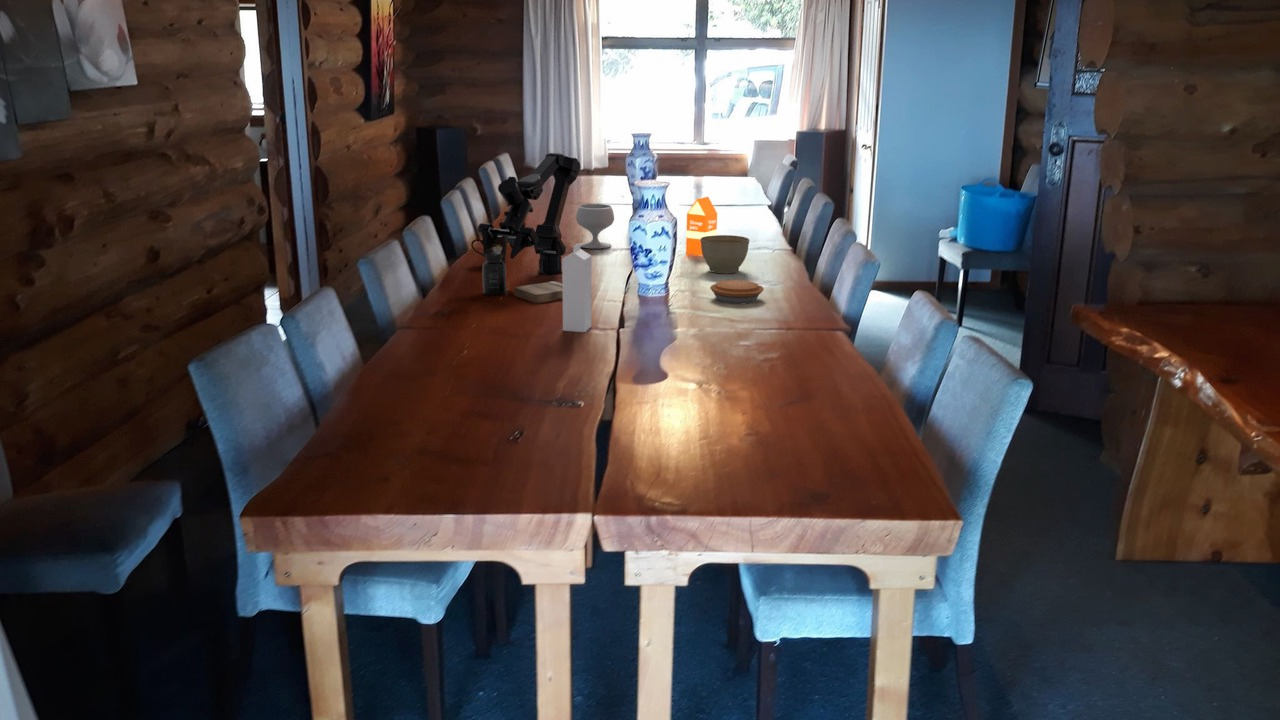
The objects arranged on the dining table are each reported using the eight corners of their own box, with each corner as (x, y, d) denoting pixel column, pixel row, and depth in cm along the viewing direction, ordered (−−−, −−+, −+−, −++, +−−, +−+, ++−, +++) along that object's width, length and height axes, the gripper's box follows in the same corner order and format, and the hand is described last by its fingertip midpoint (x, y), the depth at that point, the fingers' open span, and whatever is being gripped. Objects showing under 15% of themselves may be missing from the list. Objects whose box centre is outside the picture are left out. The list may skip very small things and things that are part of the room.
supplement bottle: (510, 292, 305) (509, 252, 302) (498, 296, 299) (497, 256, 296) (491, 289, 308) (490, 250, 304) (478, 294, 302) (477, 254, 298)
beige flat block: (553, 289, 309) (553, 280, 308) (576, 296, 300) (576, 287, 299) (514, 295, 301) (513, 286, 300) (536, 303, 292) (536, 293, 291)
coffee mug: (510, 261, 349) (510, 232, 346) (505, 266, 341) (504, 237, 338) (477, 260, 350) (476, 231, 347) (471, 265, 342) (470, 236, 339)
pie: (699, 299, 299) (699, 282, 298) (731, 291, 310) (732, 275, 309) (741, 308, 289) (741, 291, 288) (773, 299, 300) (774, 283, 298)
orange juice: (716, 252, 370) (718, 197, 364) (704, 256, 363) (706, 200, 357) (697, 250, 374) (699, 195, 368) (685, 254, 367) (686, 198, 361)
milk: (562, 331, 263) (561, 246, 257) (570, 325, 269) (568, 242, 262) (585, 332, 262) (584, 247, 255) (592, 326, 267) (591, 243, 261)
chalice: (592, 241, 388) (592, 202, 384) (621, 246, 381) (621, 205, 376) (568, 247, 377) (568, 206, 373) (598, 251, 370) (598, 210, 365)
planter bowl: (748, 267, 345) (749, 235, 342) (748, 277, 330) (749, 243, 327) (700, 265, 347) (701, 233, 344) (698, 275, 331) (699, 242, 328)
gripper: (553, 233, 312) (535, 275, 305) (500, 228, 319) (482, 269, 313) (539, 210, 303) (521, 253, 296) (486, 206, 310) (466, 248, 304)
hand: (497, 256), depth 302 cm, fingers open, 9 cm apart
